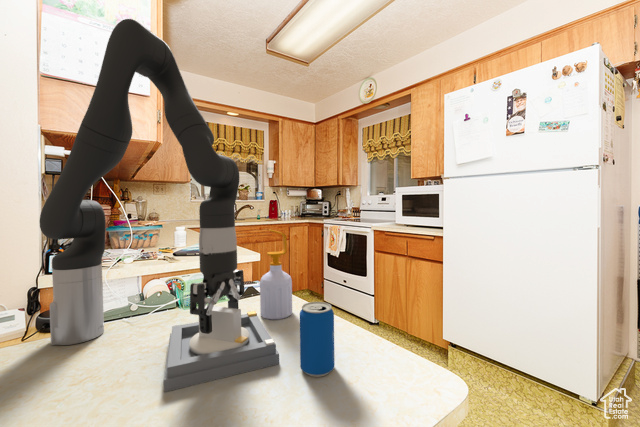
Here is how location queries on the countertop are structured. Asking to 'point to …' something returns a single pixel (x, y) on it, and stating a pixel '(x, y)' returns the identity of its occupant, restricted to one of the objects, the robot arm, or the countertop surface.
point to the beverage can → (317, 339)
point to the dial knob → (221, 332)
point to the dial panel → (217, 355)
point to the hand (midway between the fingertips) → (220, 324)
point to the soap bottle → (276, 288)
